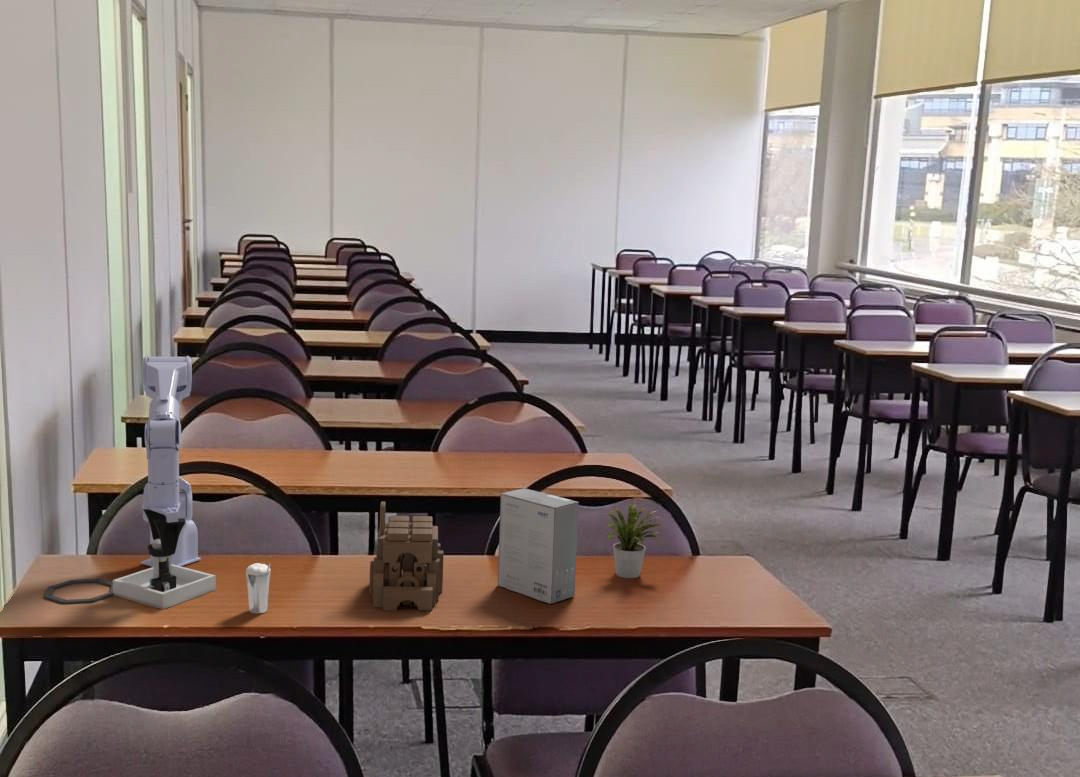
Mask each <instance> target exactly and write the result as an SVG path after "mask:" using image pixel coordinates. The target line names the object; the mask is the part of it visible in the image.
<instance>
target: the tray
mask: <svg viewBox="0 0 1080 777" xmlns="http://www.w3.org/2000/svg"><path fill="white" fill-rule="evenodd" d="M171 571H172V574H171V575H174V576H176V588H174V589H170V590H168V591H164V592H160V591H157V590H153V589H150V588H148V587H147V586H150V579H151V578H153V575H154V573H153V567H149V568H146V569H143V570H140V571H137V572H134V573H131V574H128V575H125V576H122V577H118V578H115V579H113V580H112V582H113V593H114V596H116V597H118V598H122V599H125V600H130V601H133V602H136V603H139V604H143V605H146V606H150V607H154V608H157V609H159V610H165V609H167V608H170V607H173V606H176V605H179V604H181V603H184V602H187V601H190V600H192V599H195V598H197V597H200V596H203V595H205V594H209V593H211V592H213V591H216V586H217V584H216V582H217V581H216V580H217V578H216V577H217V576H216V574H211V573H207V572H204V571H201V570H195V569H192V568H188V567H184V566H178V565H174V564H171ZM146 587H147V588H146Z"/></svg>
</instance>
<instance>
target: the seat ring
mask: <svg viewBox="0 0 1080 777" xmlns="http://www.w3.org/2000/svg"><path fill="white" fill-rule="evenodd" d="M90 583H92V584H93V583H98V584H100V585H104V586H109V587H110V589H109V592H106V593H103V594H100V595H97V596H94V597H92V598H75V599H74V598H71V599H65V598H63V597H59V596H55V595H53V593H54V591H55V590H57V589H61V588H63V587H67V586H70V585H72V584H73V585H74V584H90ZM43 595H44V596H43V598H44V599H45V600H49V601H52V602H56V603H59V604H62V605H63V604H64V605H70V604H71V605H72V604H85V603H86V604H87V603H89V604H90V603H96V602H98V601H101V600H104V599H107V598H110V597H114V596H115V595H114V593H113V581H110V580H107V579H103V578H97V577H96V578H81V579H80V578H79V579H69V580H66V581H62V582H60V583H57V584H53V585H50V586H47V588H46V591H45V593H44V594H43Z"/></svg>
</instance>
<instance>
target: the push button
mask: <svg viewBox="0 0 1080 777" xmlns="http://www.w3.org/2000/svg"><path fill="white" fill-rule="evenodd" d="M147 550H148V555H149V556H150V557H151V556H153V573H154V575H153V578H151V579H150V586H147V587H148V588H150V589H153V590H157V591H160V592H164V591H168V590H170V589H174V588H176V576H174V575H171V574H172V571H171V555H173V554H170V555H164V554H163V552H162V548H161V542H160V539H156V540H153V541H152V544H150V543H149V544H148V545H147ZM147 587H146V588H147Z"/></svg>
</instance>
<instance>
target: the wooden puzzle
mask: <svg viewBox="0 0 1080 777" xmlns="http://www.w3.org/2000/svg"><path fill="white" fill-rule="evenodd" d="M379 508H380V509H379V510H380V511H379V530H378V535H377V543H376V554H375V555H376V556H374V558H373V560H371V561H370V565H369V590H368V591H369V593H368V594H369V595H371V596H372V601H373V607H374V608H377V607H378V608H382V611H397V610H398V607H400V605H401V603H402V605H406V606H407V605H409V606H411V605H412V603H414V604H413V605H414V607H417V610H418V611H423V612H424V611H433V607H436V603H437V602H439V596H440V595H439V594H442V593H443V588H444V587H443V585H444V584H443V583H444V581H443V580H444V556H445V555H444V550H441V543H440V542H439V526H437V525H433V516H429V515H414V516H413V515H412V517H411V522H410V516H408V515H388V518H387V519H388V521H386V501H381V502H380V507H379Z"/></svg>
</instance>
